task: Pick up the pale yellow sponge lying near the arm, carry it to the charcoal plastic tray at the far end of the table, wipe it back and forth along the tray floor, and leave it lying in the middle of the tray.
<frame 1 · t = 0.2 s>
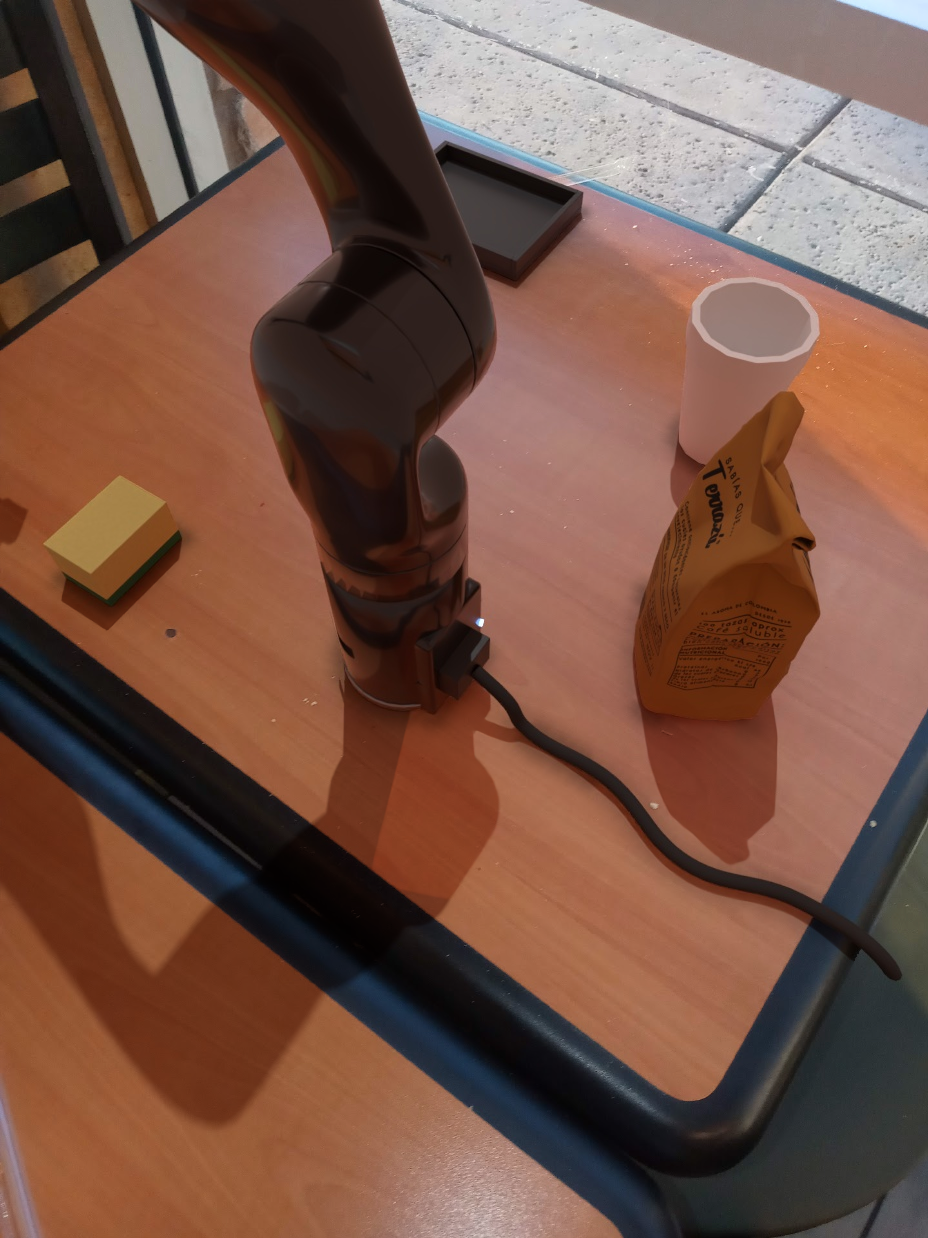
foam cup: (714, 441, 79), on the table
tray: (478, 217, 95), on the table
sponge: (124, 557, 72), on the table
coffee package: (697, 653, 68), on the table
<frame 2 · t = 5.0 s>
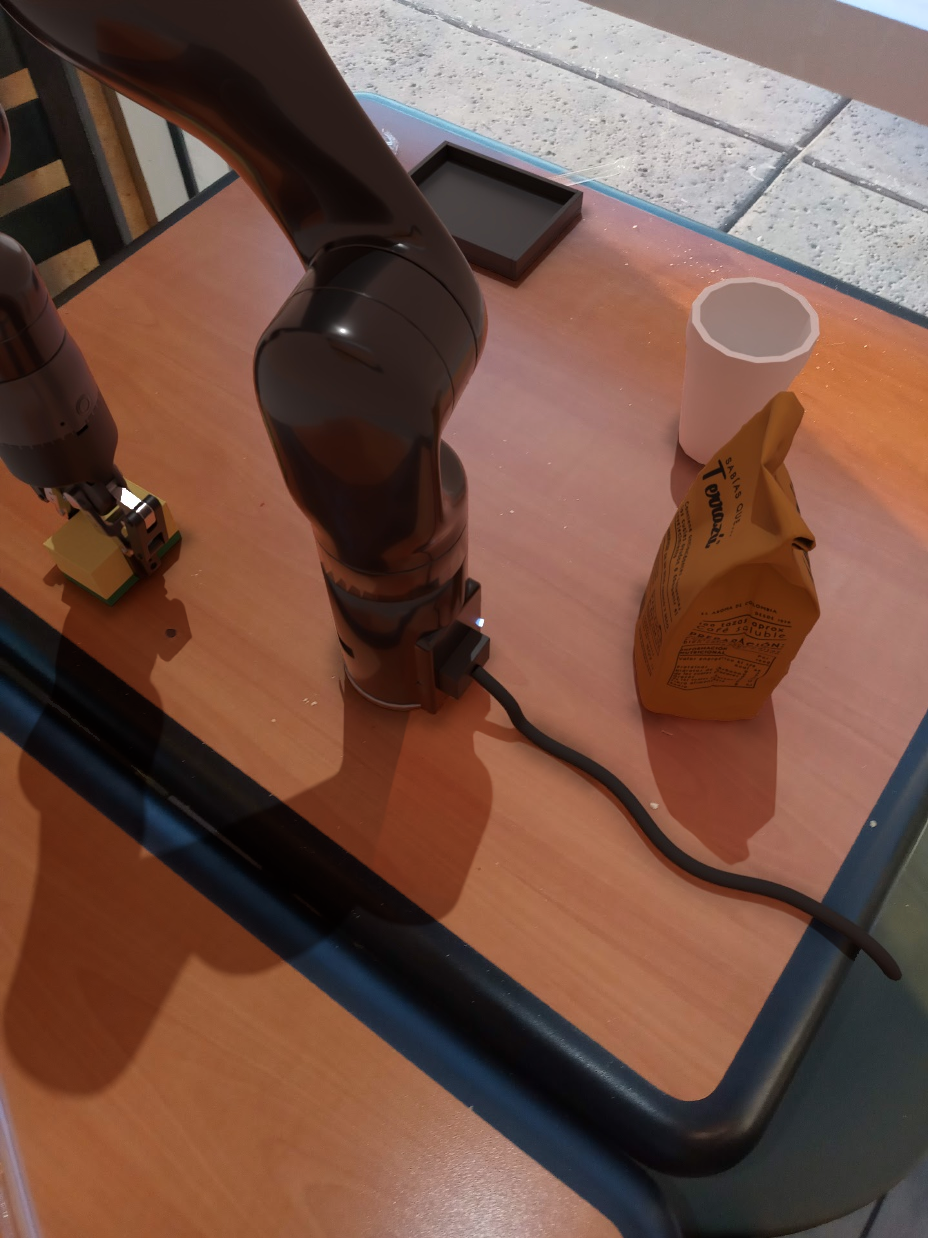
hand: (123, 554, 72), 0 cm above the table, tool pointing down, fingers closed on sponge, 5 cm apart
sponge: (124, 557, 72), on the table, touching gripper
everything else where it was.
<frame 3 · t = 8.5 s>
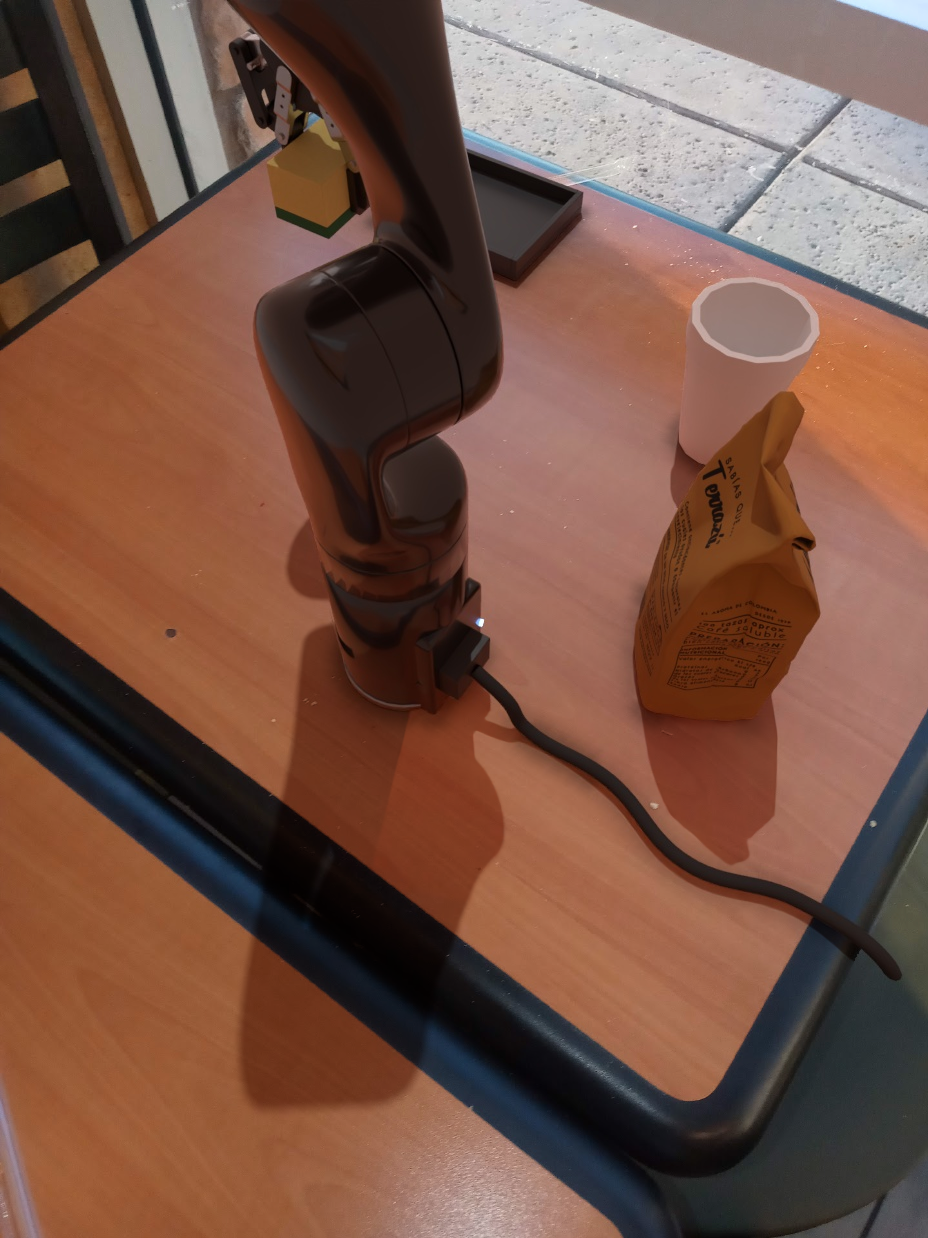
hand: (333, 195, 71), 16 cm above the table, tool pointing down, fingers closed on sponge, 5 cm apart
sponge: (333, 200, 71), point 15 cm above the table, touching gripper
everything else where it was.
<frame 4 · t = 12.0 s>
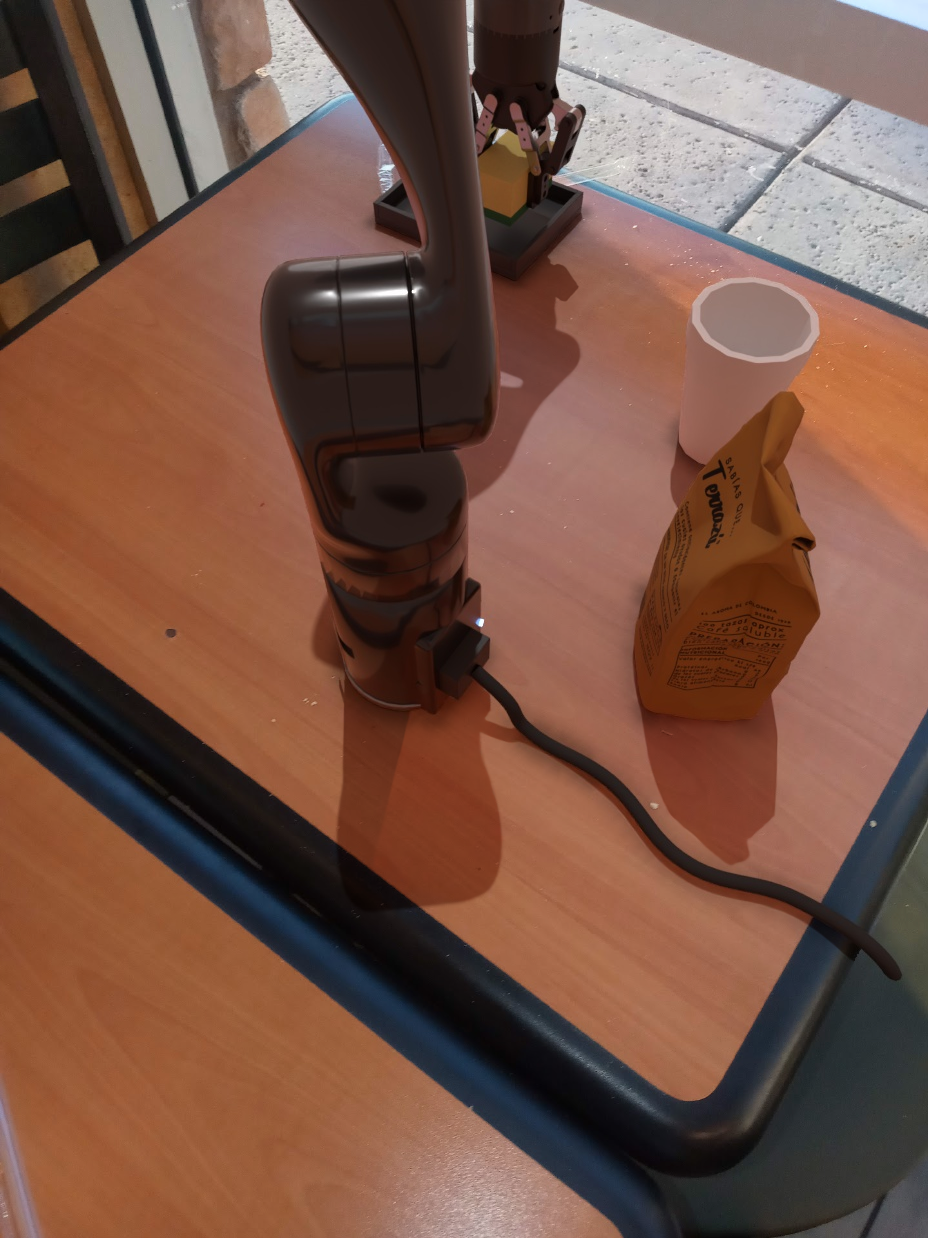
hand: (510, 193, 91), 4 cm above the table, tool pointing down, fingers closed on sponge, 5 cm apart
sponge: (510, 197, 91), point 4 cm above the table, touching gripper
everything else where it was.
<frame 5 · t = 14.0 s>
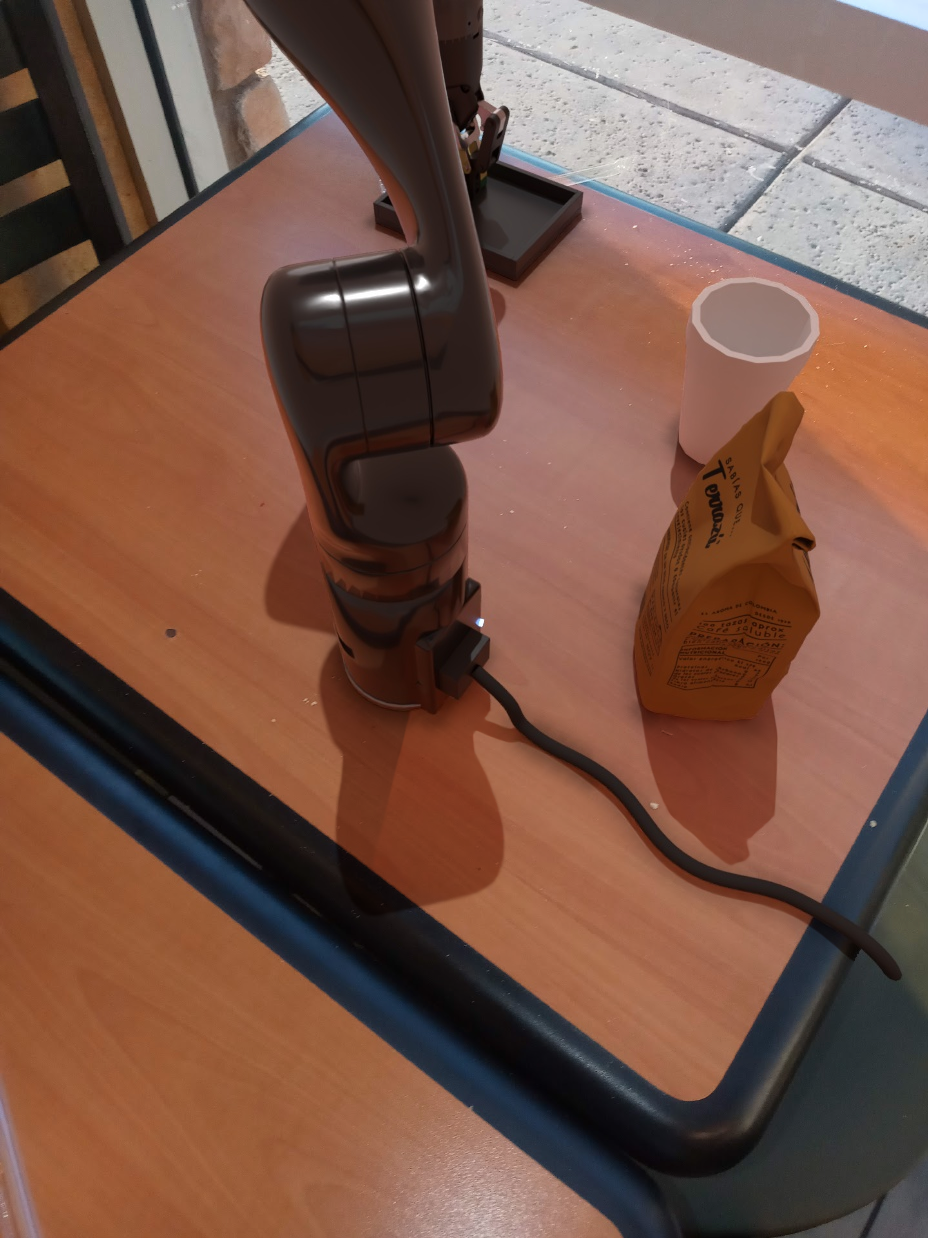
hand: (446, 191, 95), 1 cm above the table, tool pointing down, fingers closed on sponge, 5 cm apart
sponge: (446, 195, 95), point 1 cm above the table, touching gripper
everything else where it was.
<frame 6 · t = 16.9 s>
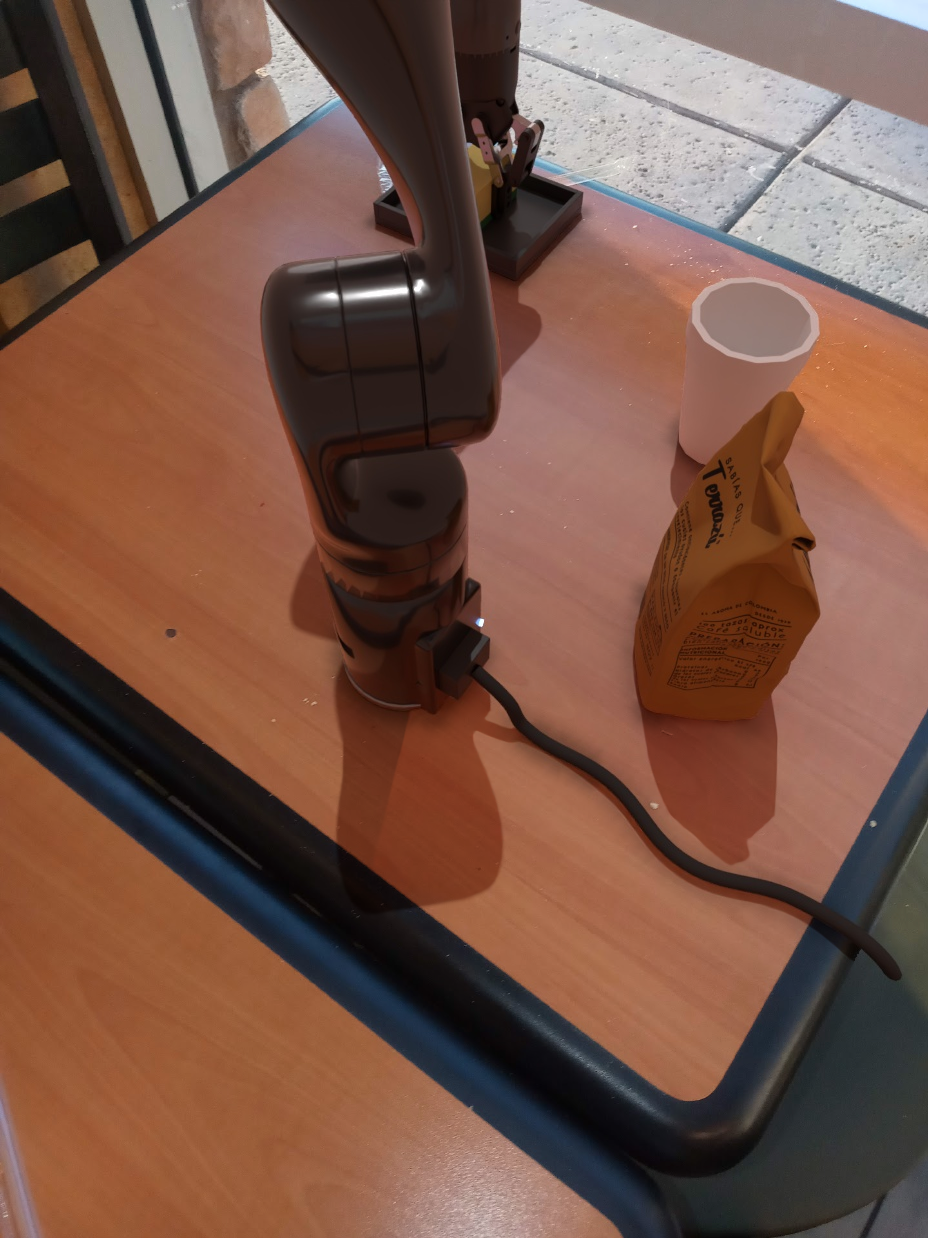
hand: (476, 203, 94), 1 cm above the table, tool pointing down, fingers closed on sponge, 5 cm apart
sponge: (476, 207, 94), point 1 cm above the table, touching gripper
everything else where it was.
when the fingers open (1 cm above the table, at t = 19.3 s): sponge stays where it is, resting on tray.
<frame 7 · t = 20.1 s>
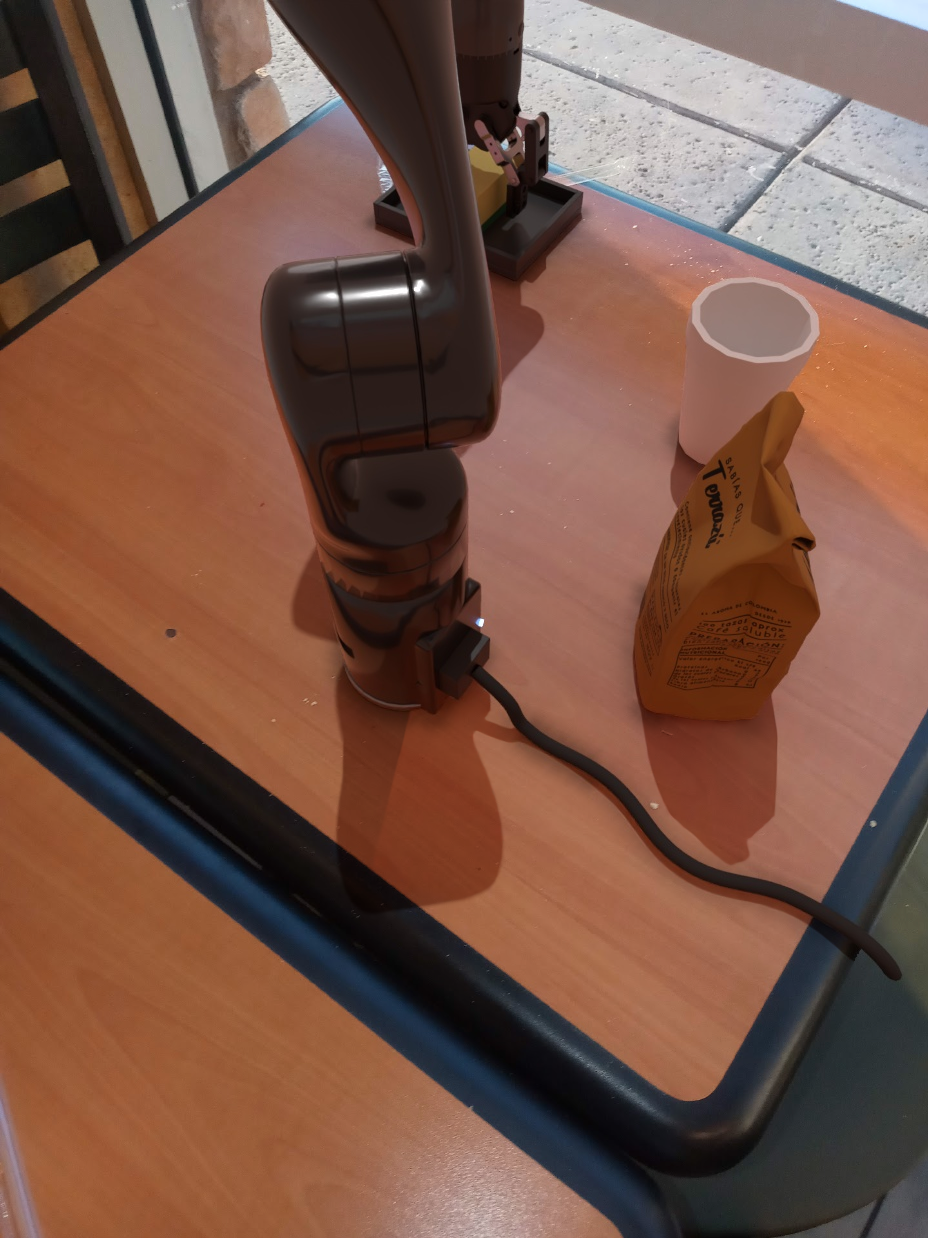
hand: (478, 199, 93), 2 cm above the table, tool pointing down, fingers open, 8 cm apart
sponge: (477, 209, 94), point 1 cm above the table, touching tray
everything else where it was.
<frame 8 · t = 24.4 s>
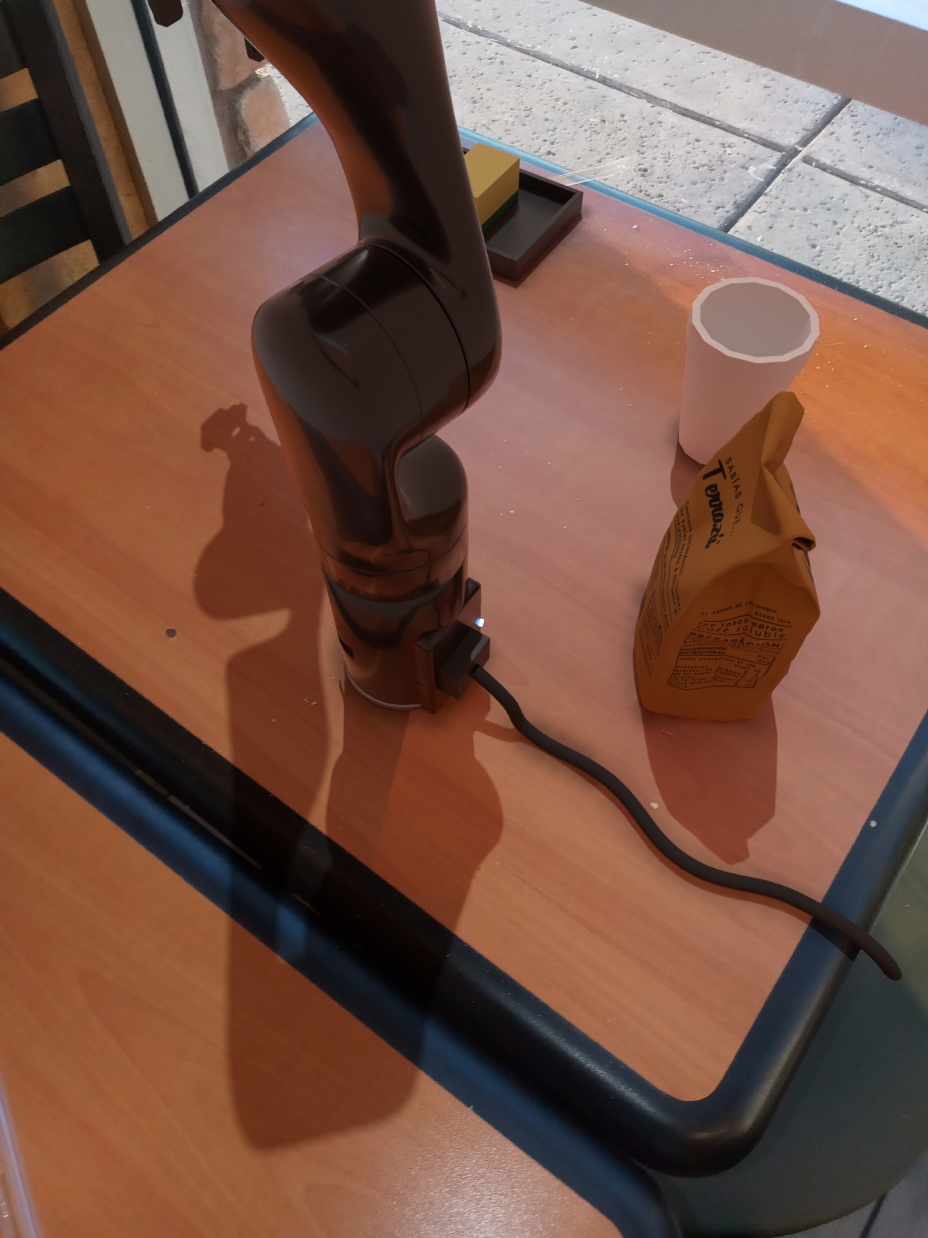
hand: (216, 38, 64), 26 cm above the table, tool pointing down, fingers open, 8 cm apart
nothing on the table moved.
at the end: sponge inside the target area in the tray (0.1 cm from its centre), point 0.8 cm above the tray's base; sponge tilted 0°; sponge moved 52.0 cm from its start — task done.
